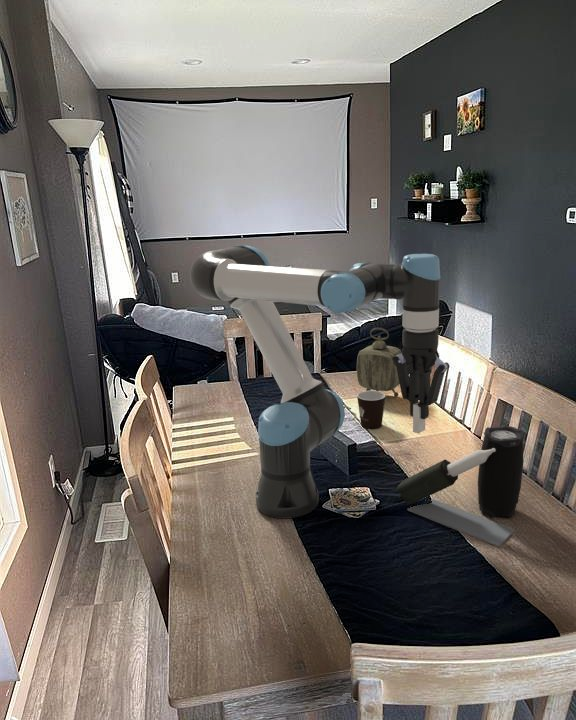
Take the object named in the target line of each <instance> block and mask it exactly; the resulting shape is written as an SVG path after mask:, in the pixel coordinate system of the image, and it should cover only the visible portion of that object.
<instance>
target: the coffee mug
mask: <svg viewBox="0 0 576 720" xmlns="http://www.w3.org/2000/svg"><path fill="white" fill-rule="evenodd" d="M356 398H357V405H358V412H359V420H360V425H361V426H362V427H363V429H365V428H366V429H365V430H369V429H370V430H373V431H374V430H378V429H381V428H382V424H383V419H384V408H385V404H386V403H385V401H386V394H385V393H384V392H383V391H382V392H381V391H376V390H371V391H366V390H364V391H363V390H362V391H360V392H358V393H357V394H356ZM362 427H361V428H362Z"/></svg>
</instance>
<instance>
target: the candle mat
mask: <svg viewBox="0 0 576 720" xmlns="http://www.w3.org/2000/svg"><path fill="white" fill-rule="evenodd" d="M431 501H432V503H430V504H423V505H422V504H421V505H417V506H413V507H411V506H409V507H410V508H409V507H408V508H407V511H408V512H410V513H413V514H415V515H418V516H420V517H422V518H426V519H428V520H431V521H433V522H435V523H438V524H441V525H443V526H445V527H447V528H451V529H453V530H455V531H458V532H460V533H463V534H465V535H468V536H470V537H472V538H476V539H478V540H481V541H483V542H485V543H488V544H491V545H493V546H496V547H498V548H500V546H501V545H503V544H504V543H505V542H506V541H507V540H508V538H510V537H511V536H512V535H513V534H514V533H515V532H516V529H514V528H512V527H509V526H507V525H504V524H502V523H500V522H499V523H498V522H495V521H494V520H490V519H488V518H484V517H482V516H480V515H477V514H474V513H472V512H469V511H466V510H463V509H461V508H458V507H455V506H453V505H450V504H448V503H444V502H441V501H439V500H436V499H434V498H431Z"/></svg>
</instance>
